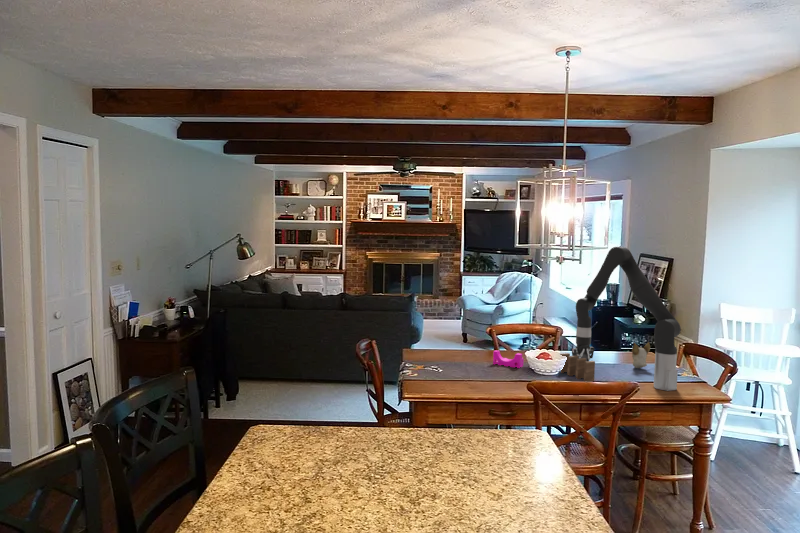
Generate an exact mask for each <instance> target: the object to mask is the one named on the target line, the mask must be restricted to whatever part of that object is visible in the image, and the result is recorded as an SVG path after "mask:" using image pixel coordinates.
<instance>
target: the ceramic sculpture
mask: <svg viewBox="0 0 800 533" xmlns="http://www.w3.org/2000/svg"><path fill="white" fill-rule="evenodd" d="M650 351H651V344H650V341H648V342H647V343H646V344H645V345H644V346H643V347H642V346H641V347H640V346H639V345H637V344H636V343H635V342H633V346H632V349H631V353H632V354H631V355H632V356H631V357H632V360H633V361H632V366H633V367H634V368H635V369H643V368H645V367H647V366H648V363H647V361H646V360H647V357H648V356H647V355H648V354H649V352H650Z"/></svg>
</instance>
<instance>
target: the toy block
mask: <svg viewBox="0 0 800 533" xmlns="http://www.w3.org/2000/svg"><path fill="white" fill-rule="evenodd" d="M492 354H493V355H492V356H493V358H492V359H493V360H492V365H495V364H498V365H497V366H501V365H504V366H503V367H508V366H510V367H509V368H515V367H517V368H516V369H521V368H523V367H524V357H523V353H519V352H517V353H515V354H514V357H513V358H512V359H511V358H507V357H503V356H502V355H501V352H500V350H499V349H498V350H493V353H492ZM520 367H521V368H520Z"/></svg>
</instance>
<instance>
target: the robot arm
mask: <svg viewBox="0 0 800 533" xmlns="http://www.w3.org/2000/svg"><path fill="white" fill-rule="evenodd" d="M618 266H619V267H620V268H621V269H622V270H623V272H624V273H625V275H626V277H627V282H628V284H629V288H630V290H631V292H632V294H633V295H634V297H635V298H636V300H637V301H638V303H639V304H641V305H642V306H643V307H644V308H645V309H646V310H647V311H649V312H650V313H651V314H652V316H653V317H654V318H655V319H656V323H655V326H654V333H653V340H654V341H653V344H654V347H655V352H654V353H655V354H654V355H655V356H654V370H653V371H654V373H653V387H654V388H655V389H657V390H662V391H666V392H671V391H677V387H678V369H677V359H678V358H677V356H678V355H677V354H678V348H677V346H676V344H675V337H678V336H679V335H680V334H681V330H682V329H681V324H680V323H679V321H678V320H677V319H676V317H674V315H673V314H672V313H671V312H670V310H669V309H668V308H667V306H666V305H665V304H664V302H663V300H662V299H661V297H660V296H659V294H658V293H657V291H656V290H655V288H654V287H653V285H652V283H651V282H650V281H649V280H648V278H647V277H646V275H645V274H644V273H643V271H642V270H641V268H640V267H639V265H638V264H637V262H636V260H635V257H634V255H633V254H632V252H631V250H630V249H629V248H627V247H625V246H614V247H611V248H610V250H609V251H608V252H607V254H606V257H605V259H604V262H603V263H602V265H601V267H600V269H599V270H598V272H597V273H596V275H595V277H594V279H593V280H592V281H591V283H590V285H589V286H588V287H587V289H586V295H585V296H584V297H582V298H579V299H577V301H576V303H575V312H576V317H577V322H576V329H575V331H576V334H575V335H576V336H575V344H576V346H575V347H574V348H573V347H572V348H571V350H570V351H571V356H575V355H576V356H579V357H578V359H579V358H581V357H582V355H584V354H585V355H586V354H587V361H591V359H593V357H594V352H595V347H593V346H591V344H592V318H591V316H589V314H590V313H589V311H591V310H593V309H594V307H595V306H596V304H597V302H598V300H599V297H600V296H601V295H602V293H603V292H604V290H605V289H606V287H607V286H608V284H609V280H610V278H611V275H613V274H612V273H613V272H614V271H615V269H616V268H617V267H618ZM578 353H580V355H578Z"/></svg>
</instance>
